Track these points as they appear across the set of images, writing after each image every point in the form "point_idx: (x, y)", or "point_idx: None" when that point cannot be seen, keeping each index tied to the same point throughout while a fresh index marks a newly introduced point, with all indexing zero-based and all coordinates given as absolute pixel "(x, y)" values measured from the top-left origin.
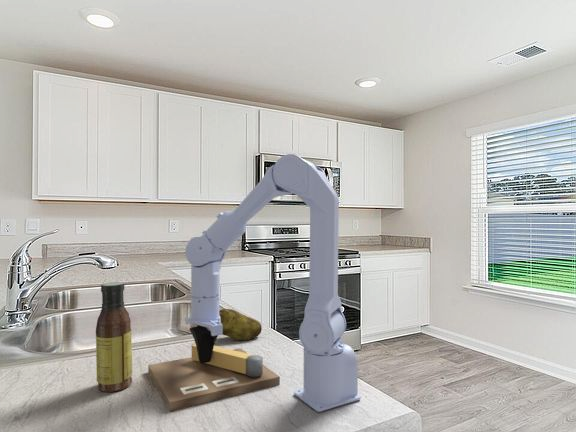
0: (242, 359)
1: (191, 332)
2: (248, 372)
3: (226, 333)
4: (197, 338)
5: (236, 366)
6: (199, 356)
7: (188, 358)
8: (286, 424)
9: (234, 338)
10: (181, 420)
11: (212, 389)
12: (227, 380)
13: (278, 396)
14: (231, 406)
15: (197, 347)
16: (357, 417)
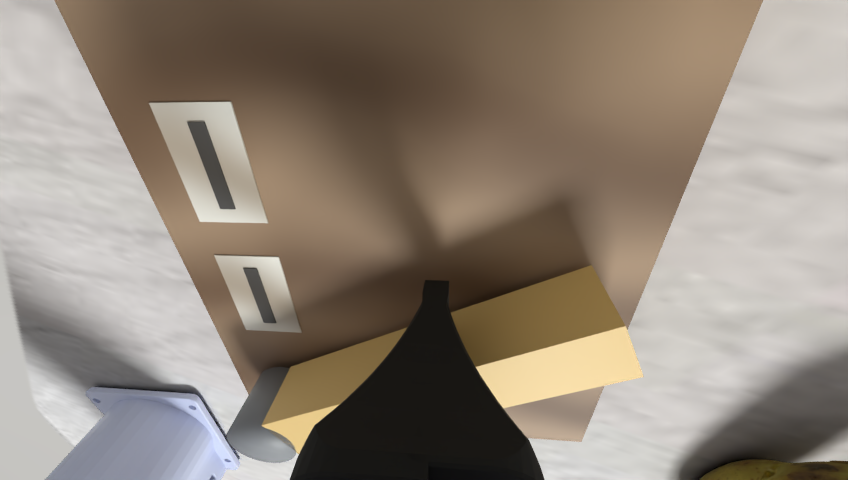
0: (279, 414)
1: (489, 430)
2: (266, 378)
3: (789, 477)
4: (338, 405)
5: (318, 372)
6: (422, 301)
7: (644, 257)
8: (31, 317)
9: (741, 465)
10: (18, 39)
11: (195, 233)
12: (266, 304)
13: (195, 365)
14: (141, 246)
15: (426, 338)
16: (76, 419)
